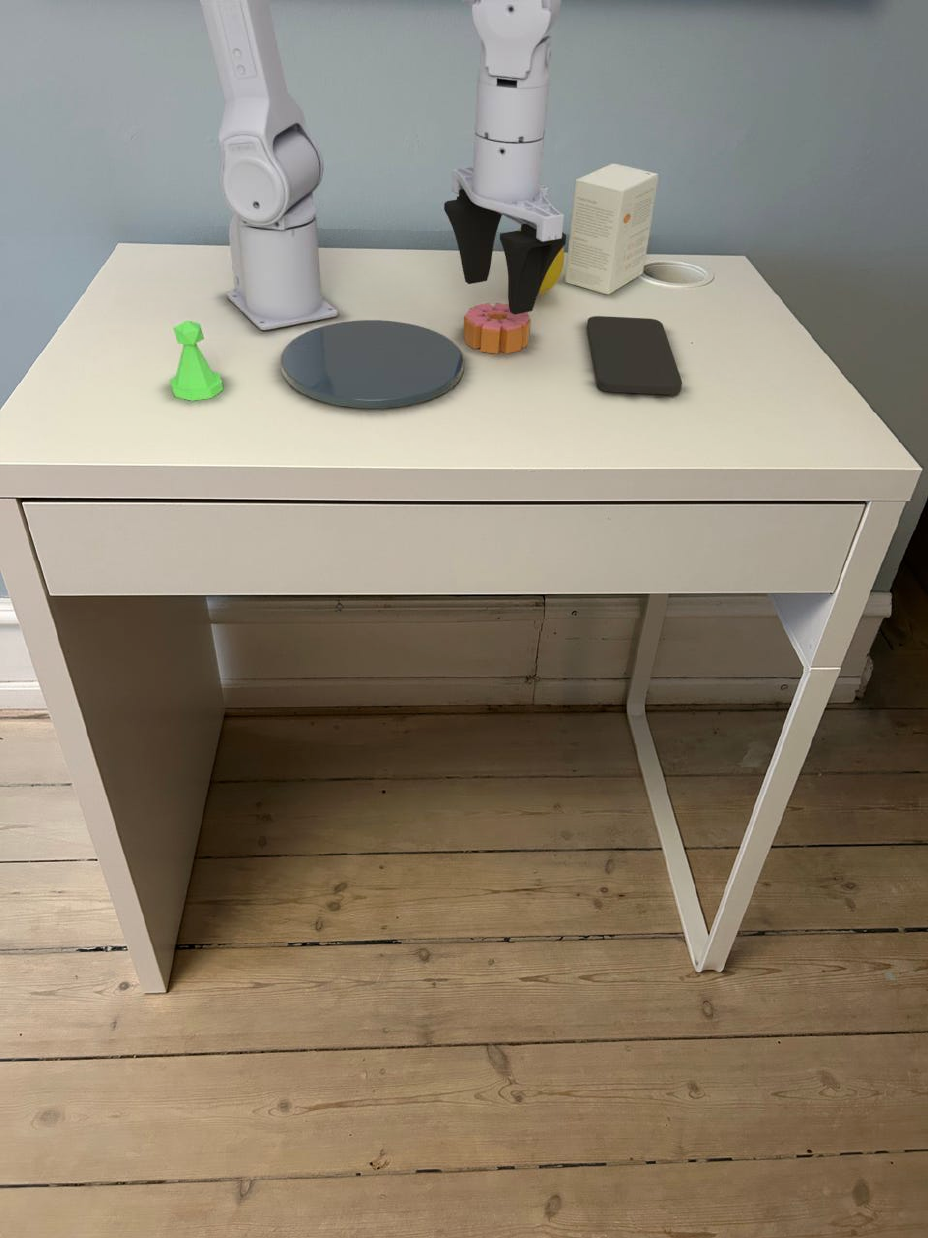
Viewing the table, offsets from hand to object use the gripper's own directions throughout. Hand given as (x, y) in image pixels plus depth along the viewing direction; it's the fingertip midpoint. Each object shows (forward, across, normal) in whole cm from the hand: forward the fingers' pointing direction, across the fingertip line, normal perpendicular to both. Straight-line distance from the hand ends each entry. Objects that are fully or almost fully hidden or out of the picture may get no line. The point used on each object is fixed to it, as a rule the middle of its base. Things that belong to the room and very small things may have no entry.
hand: (498, 295), depth 87 cm
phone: (+4, -9, -9) cm, 14 cm away
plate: (+4, 0, +13) cm, 14 cm away
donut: (+4, 0, 0) cm, 4 cm away
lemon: (+4, +7, -9) cm, 12 cm away
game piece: (+5, +3, +28) cm, 28 cm away
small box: (+4, +8, -19) cm, 21 cm away
